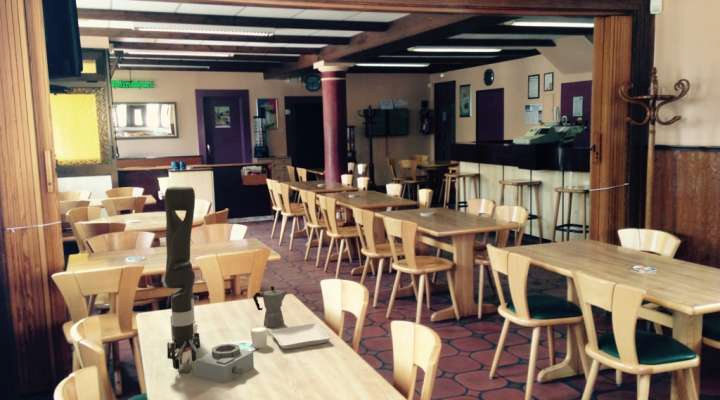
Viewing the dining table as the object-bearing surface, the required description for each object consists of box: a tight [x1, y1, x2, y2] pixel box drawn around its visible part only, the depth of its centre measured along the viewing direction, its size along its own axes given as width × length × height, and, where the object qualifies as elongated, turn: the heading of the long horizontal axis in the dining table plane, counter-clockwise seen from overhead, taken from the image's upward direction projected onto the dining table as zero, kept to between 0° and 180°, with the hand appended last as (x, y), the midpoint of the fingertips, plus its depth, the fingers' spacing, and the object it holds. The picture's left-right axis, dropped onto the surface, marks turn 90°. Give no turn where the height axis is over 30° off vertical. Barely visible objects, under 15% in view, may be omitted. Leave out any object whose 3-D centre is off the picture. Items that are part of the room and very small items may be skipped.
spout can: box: [177, 347, 193, 375], centre depth 233 cm, size 5×5×9 cm
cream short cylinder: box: [249, 326, 268, 349], centre depth 259 cm, size 7×7×7 cm
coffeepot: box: [252, 285, 288, 329], centre depth 285 cm, size 15×9×18 cm, turn 103°
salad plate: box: [269, 323, 331, 350], centre depth 264 cm, size 21×21×3 cm
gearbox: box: [194, 343, 255, 384], centre depth 231 cm, size 17×16×8 cm
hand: (185, 364), depth 233 cm, fingers open, 8 cm apart
